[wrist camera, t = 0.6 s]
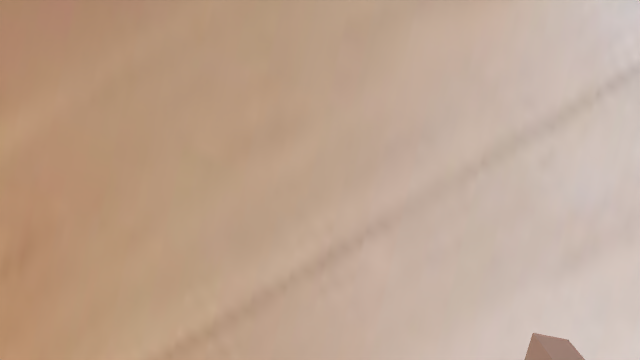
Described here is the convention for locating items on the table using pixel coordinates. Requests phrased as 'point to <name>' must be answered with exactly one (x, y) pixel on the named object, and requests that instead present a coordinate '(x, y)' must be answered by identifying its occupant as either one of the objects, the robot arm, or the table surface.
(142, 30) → the table surface
